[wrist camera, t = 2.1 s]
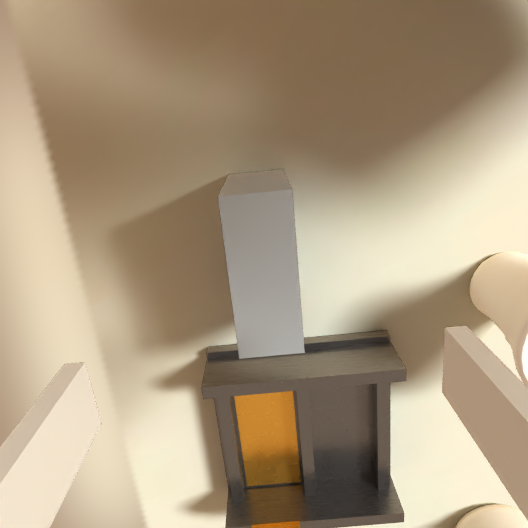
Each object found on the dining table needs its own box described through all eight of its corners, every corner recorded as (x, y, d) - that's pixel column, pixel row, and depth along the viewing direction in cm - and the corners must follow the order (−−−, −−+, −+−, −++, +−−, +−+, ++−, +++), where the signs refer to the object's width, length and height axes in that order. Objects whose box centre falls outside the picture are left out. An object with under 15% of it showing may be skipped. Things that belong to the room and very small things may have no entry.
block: (228, 174, 31) (217, 196, 23) (283, 168, 31) (292, 189, 23) (243, 298, 35) (239, 358, 26) (293, 294, 35) (304, 352, 26)
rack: (207, 346, 36) (198, 388, 31) (386, 330, 36) (409, 369, 30) (231, 492, 41) (226, 549, 36) (387, 478, 41) (406, 534, 36)
